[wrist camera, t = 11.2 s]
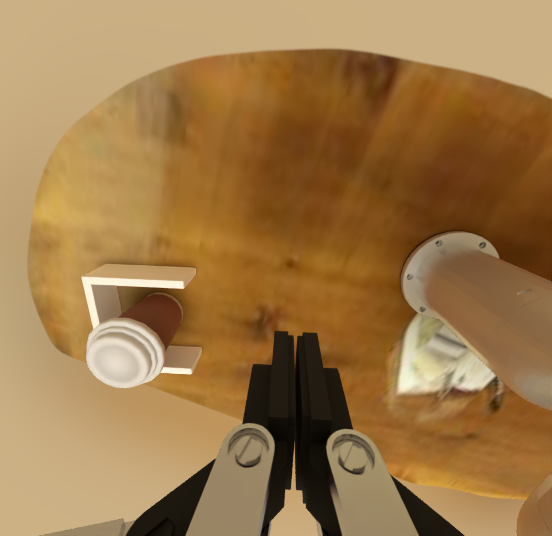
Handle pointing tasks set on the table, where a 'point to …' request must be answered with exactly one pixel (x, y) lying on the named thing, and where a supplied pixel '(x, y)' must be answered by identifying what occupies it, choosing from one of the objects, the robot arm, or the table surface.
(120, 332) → the coffee cup
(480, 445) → the table surface
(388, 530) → the robot arm
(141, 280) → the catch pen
